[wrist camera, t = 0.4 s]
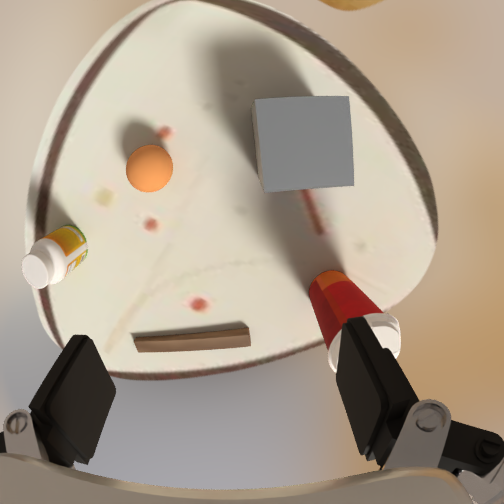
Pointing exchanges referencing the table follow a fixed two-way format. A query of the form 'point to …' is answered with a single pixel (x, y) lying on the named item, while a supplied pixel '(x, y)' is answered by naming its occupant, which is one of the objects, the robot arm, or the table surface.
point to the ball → (149, 168)
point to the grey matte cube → (303, 142)
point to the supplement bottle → (54, 256)
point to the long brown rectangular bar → (195, 341)
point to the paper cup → (348, 313)
